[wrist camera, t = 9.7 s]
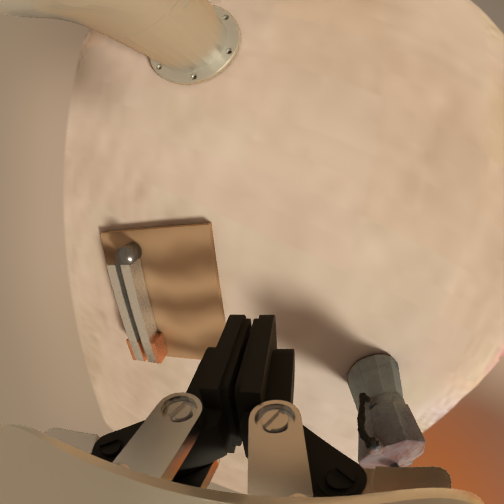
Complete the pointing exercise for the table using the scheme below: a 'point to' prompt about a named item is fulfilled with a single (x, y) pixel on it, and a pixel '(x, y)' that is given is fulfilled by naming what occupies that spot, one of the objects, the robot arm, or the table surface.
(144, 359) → the bar
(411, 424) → the moka pot
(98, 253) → the table surface
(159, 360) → the tong leg
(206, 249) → the board
